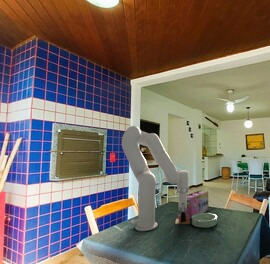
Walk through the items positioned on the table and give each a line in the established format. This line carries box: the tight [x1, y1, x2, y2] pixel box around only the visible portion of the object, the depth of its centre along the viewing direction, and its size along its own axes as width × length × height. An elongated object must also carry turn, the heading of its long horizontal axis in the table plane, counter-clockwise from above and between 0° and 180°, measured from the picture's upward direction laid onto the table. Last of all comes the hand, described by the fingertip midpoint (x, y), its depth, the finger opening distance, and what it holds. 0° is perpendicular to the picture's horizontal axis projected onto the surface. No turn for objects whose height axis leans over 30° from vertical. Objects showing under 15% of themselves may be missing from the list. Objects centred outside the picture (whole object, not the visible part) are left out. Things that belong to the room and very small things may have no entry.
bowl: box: [191, 212, 218, 229], centre depth 121 cm, size 15×15×4 cm
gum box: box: [185, 190, 210, 220], centre depth 142 cm, size 24×8×14 cm, turn 148°
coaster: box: [174, 218, 191, 225], centre depth 125 cm, size 9×9×1 cm
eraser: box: [178, 213, 188, 221], centre depth 125 cm, size 6×3×3 cm, turn 95°
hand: (183, 219), depth 125 cm, fingers closed on eraser, 3 cm apart
